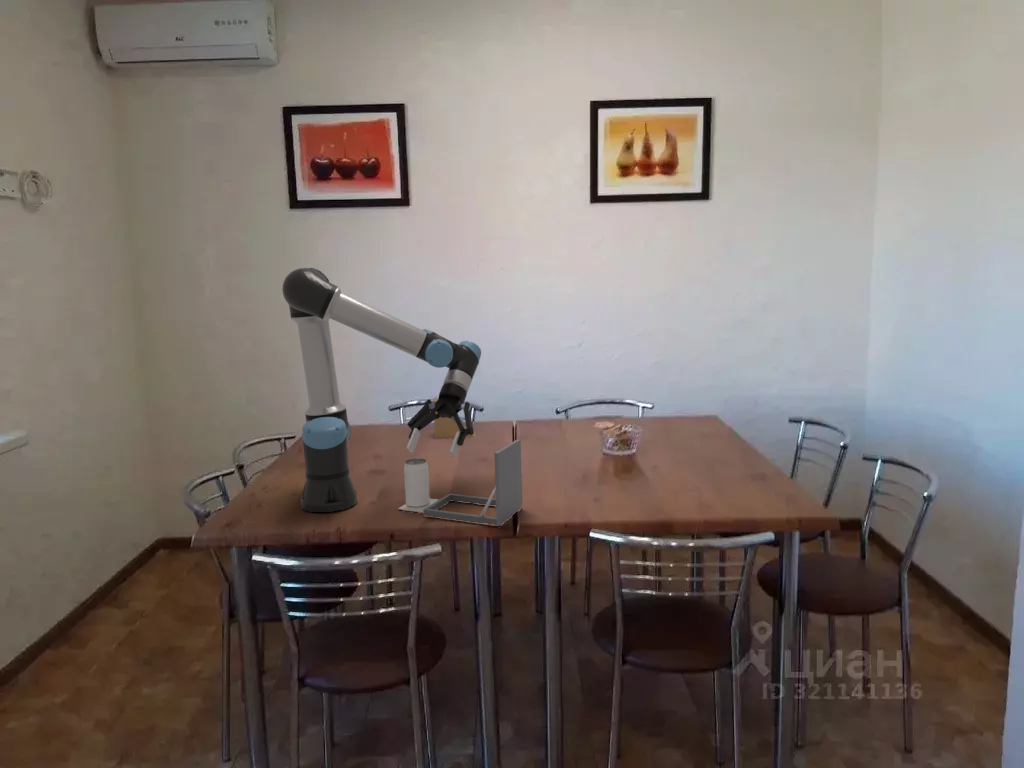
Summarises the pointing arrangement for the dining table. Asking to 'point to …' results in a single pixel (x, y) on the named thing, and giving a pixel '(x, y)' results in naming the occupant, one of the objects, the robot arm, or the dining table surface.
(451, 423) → the sandwich container
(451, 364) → the robot arm
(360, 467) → the dining table surface
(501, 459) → the grey frame and panel
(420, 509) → the pad
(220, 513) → the dining table surface
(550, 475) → the dining table surface
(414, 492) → the can
